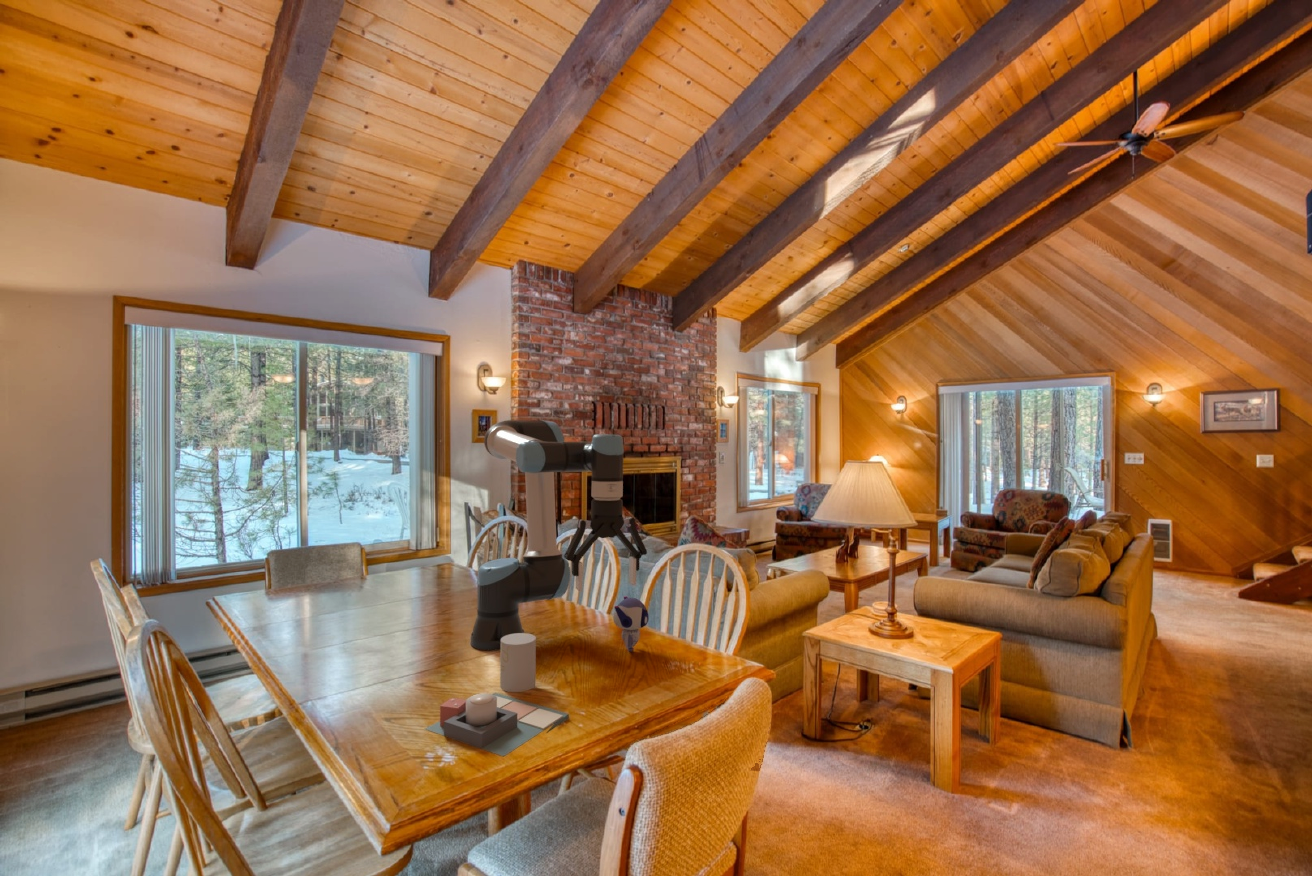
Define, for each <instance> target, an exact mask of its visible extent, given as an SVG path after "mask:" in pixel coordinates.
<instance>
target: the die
mask: <svg viewBox="0 0 1312 876" xmlns="http://www.w3.org/2000/svg"><path fill="white" fill-rule="evenodd" d="M466 700H467V699H465V698H455V697H451V698H449V699H448V700H446V701H445V702H443V704H440V706H439V711H440V712H439V721H440V726H444V721H446V720H448V719H450V718H452V717H454V716H456V715H457V714H459V713H461V712H463V711H465V710H466Z"/></svg>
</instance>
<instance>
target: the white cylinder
mask: <svg viewBox="0 0 1312 876" xmlns="http://www.w3.org/2000/svg"><path fill="white" fill-rule="evenodd" d="M536 638H537V636H535V634H531V633H525V632H524V633H515V634H509V635H506V636H504V637H502V638H501V650H500V659H499V660H500V661H499V662H500V666H499V668H500V669H499V671H500V674H499V676H500V677H499V683H500V684H499V688H500V689H501V690H502V691H504V692H508V693H522V692H526V691H529V690H531V689H536V665H537V664H536V660H537V659H536V655H537V654H536V653H537V651H536V647H537V646H536V645H537V639H536Z"/></svg>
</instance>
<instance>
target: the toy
mask: <svg viewBox="0 0 1312 876" xmlns="http://www.w3.org/2000/svg"><path fill="white" fill-rule="evenodd" d="M612 618H613V623H614V624H615V626H617V627H618V628H620V629H622V631H621V638H622V641H623V643H624V647H625V648H626V649H627V651H628V652H630V653H631V652H633V651H634V647H635V646H636V644H637V643H638V642H639V640H640V636H641V633H640V629H642V628H644V627H646V625H647V624H648V622H649V618H650V617H649V611H648V609H647V607H646V605H645V604H644V603H643V602H642V601H641V600H640V599H638V598H636V597H628V596H623V599H622V600H621V601H620V602H619V603H618V605H615V606H614V611H613V617H612Z"/></svg>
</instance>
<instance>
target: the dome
mask: <svg viewBox="0 0 1312 876" xmlns="http://www.w3.org/2000/svg"><path fill="white" fill-rule="evenodd" d="M465 700H466V724H469V725H472V726H475V727H483V726H487V725H489V724H491V723H493V722H494V721H496V719H497V697H496V696H495V695H493V693H488V692H486V693H485V692H482V693H477V694H474V695H471V696H469V697H467V698H466V699H465Z"/></svg>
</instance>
